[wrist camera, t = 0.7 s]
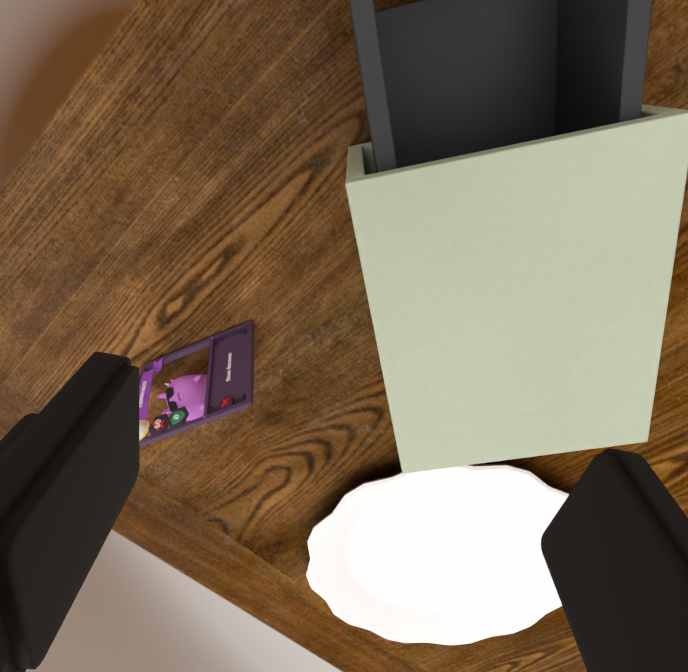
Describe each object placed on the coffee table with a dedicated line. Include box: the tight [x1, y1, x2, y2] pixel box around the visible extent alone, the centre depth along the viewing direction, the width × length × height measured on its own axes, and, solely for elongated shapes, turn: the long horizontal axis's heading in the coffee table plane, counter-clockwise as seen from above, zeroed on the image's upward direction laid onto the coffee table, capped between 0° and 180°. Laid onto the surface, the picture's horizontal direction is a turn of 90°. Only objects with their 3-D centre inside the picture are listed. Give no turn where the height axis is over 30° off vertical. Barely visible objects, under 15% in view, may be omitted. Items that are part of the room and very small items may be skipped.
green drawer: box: [350, 0, 652, 173], centre depth 20 cm, size 19×11×8 cm, turn 12°
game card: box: [139, 321, 254, 447], centre depth 32 cm, size 7×5×9 cm
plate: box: [306, 464, 570, 645], centre depth 42 cm, size 25×25×2 cm
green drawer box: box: [345, 104, 688, 473], centre depth 25 cm, size 16×13×10 cm
